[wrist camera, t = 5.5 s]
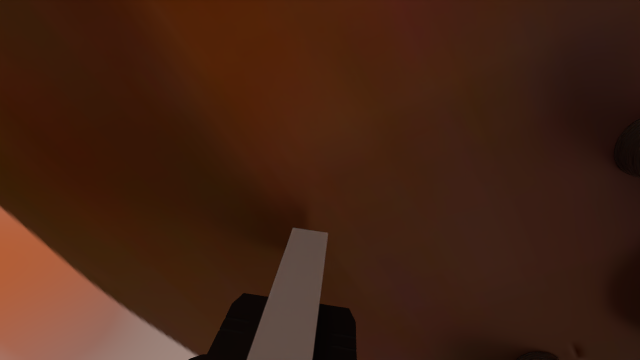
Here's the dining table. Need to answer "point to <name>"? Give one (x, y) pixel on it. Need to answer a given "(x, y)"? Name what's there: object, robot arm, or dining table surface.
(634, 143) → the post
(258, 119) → the dining table surface
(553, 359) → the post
